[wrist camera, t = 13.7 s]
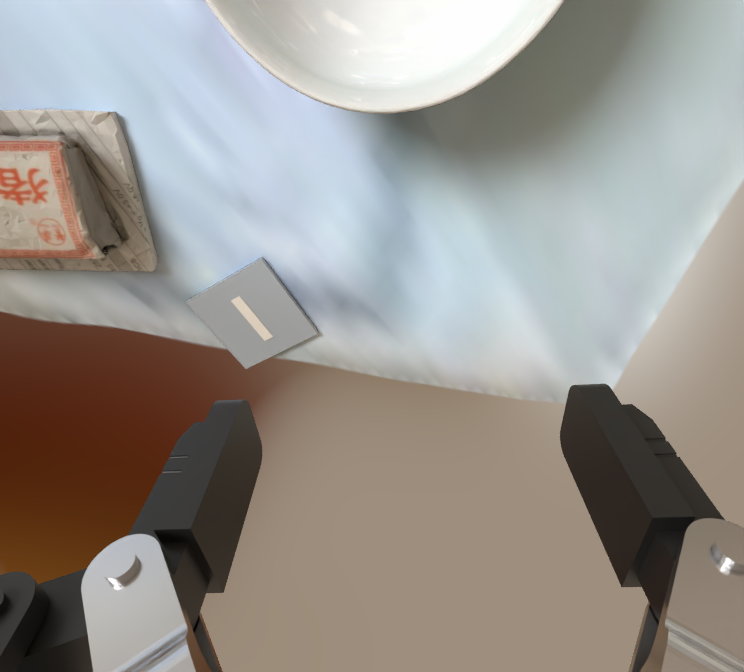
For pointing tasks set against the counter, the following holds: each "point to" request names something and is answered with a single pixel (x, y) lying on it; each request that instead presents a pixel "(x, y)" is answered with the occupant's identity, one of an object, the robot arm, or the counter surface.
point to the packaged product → (70, 194)
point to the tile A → (253, 314)
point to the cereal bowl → (383, 46)
